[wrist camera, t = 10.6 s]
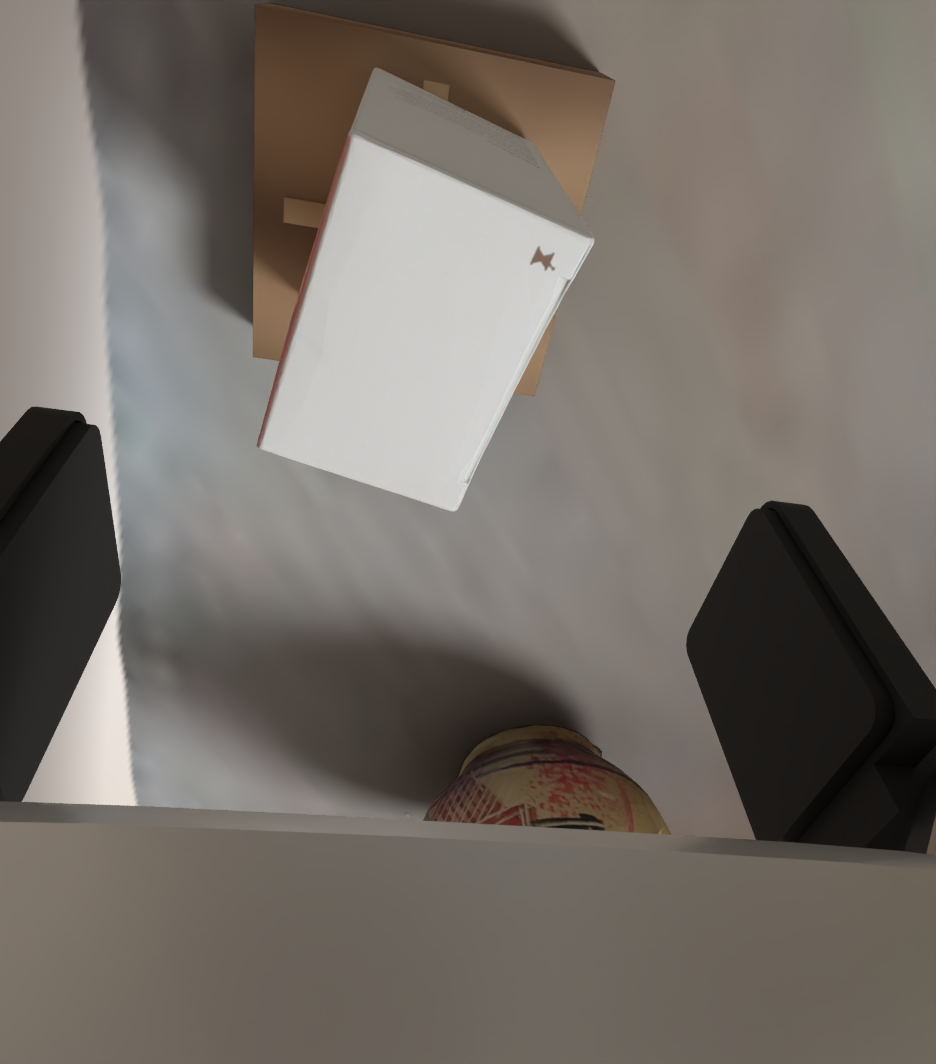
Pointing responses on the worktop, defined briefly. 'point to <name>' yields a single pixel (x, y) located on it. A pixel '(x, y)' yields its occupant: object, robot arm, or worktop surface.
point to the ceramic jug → (545, 786)
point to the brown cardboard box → (331, 106)
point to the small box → (421, 296)
